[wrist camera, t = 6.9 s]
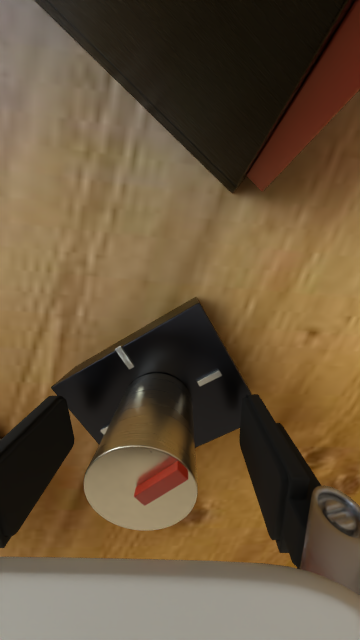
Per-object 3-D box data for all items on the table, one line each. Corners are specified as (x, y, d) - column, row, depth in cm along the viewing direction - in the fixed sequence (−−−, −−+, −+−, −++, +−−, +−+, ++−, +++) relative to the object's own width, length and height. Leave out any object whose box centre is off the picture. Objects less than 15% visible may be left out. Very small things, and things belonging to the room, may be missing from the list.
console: (137, 445, 15) (127, 482, 12) (74, 365, 13) (46, 388, 10) (250, 392, 13) (266, 420, 11) (195, 295, 12) (198, 300, 9)
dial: (155, 441, 11) (135, 557, 7) (110, 399, 11) (53, 495, 6) (205, 407, 11) (222, 509, 6) (160, 359, 10) (141, 433, 5)
